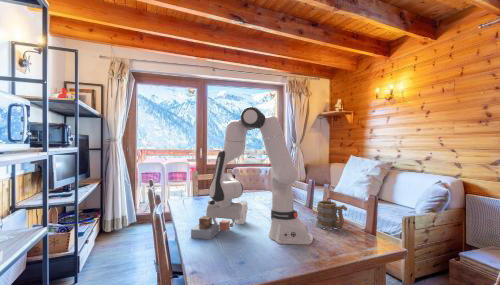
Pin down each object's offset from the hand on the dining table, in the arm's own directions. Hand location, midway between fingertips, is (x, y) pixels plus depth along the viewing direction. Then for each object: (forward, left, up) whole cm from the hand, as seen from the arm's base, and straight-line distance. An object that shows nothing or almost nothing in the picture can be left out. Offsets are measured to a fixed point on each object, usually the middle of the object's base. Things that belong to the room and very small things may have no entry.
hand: (223, 225), depth 133 cm
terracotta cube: (0, -1, -2) cm, 2 cm away
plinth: (+7, +9, -2) cm, 12 cm away
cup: (-5, -15, -2) cm, 16 cm away
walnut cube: (+7, +9, +2) cm, 12 cm away
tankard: (-59, -20, -2) cm, 63 cm away
